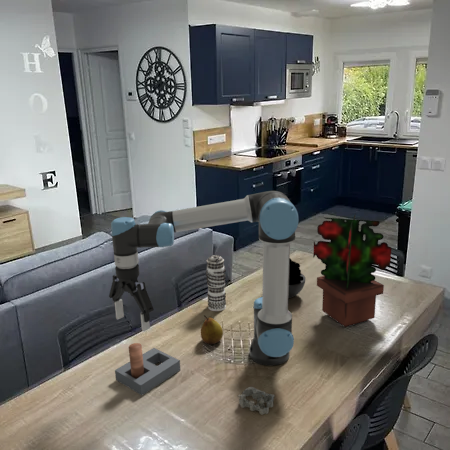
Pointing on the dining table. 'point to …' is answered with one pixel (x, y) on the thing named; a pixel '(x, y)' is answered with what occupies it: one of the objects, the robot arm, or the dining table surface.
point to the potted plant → (350, 269)
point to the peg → (136, 360)
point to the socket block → (149, 371)
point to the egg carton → (261, 399)
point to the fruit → (211, 331)
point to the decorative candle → (216, 283)
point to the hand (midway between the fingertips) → (132, 323)
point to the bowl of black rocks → (295, 279)
